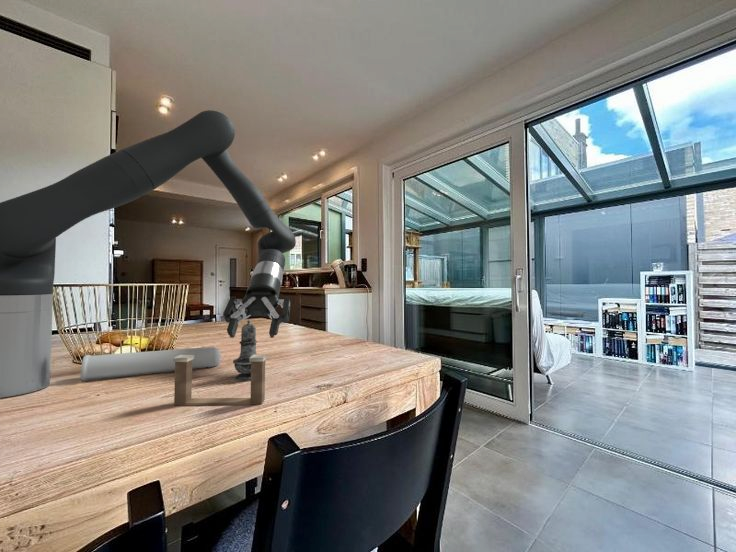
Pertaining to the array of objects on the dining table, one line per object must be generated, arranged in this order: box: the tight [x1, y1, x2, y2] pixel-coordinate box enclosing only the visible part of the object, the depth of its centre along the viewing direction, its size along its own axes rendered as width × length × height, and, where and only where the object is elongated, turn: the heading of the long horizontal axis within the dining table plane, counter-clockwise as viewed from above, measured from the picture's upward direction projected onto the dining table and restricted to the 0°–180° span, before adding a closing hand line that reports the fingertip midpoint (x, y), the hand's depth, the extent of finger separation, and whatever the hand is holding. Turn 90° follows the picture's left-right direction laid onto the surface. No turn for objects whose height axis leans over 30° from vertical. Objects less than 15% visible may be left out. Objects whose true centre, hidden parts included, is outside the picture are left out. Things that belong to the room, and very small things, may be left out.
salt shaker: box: [232, 319, 258, 382], centre depth 66 cm, size 6×6×12 cm
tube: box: [80, 346, 222, 382], centre depth 70 cm, size 5×5×25 cm
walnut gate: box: [173, 354, 268, 406], centre depth 52 cm, size 14×2×8 cm, turn 93°
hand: (251, 335), depth 68 cm, fingers open, 8 cm apart
